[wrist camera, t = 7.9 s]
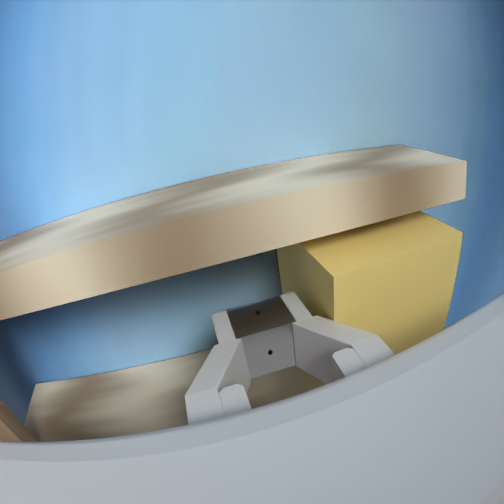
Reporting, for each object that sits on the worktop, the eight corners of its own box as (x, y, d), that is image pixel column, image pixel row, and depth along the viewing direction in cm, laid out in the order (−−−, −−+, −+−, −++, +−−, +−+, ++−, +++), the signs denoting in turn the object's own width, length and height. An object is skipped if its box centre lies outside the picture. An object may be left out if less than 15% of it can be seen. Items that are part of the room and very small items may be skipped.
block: (378, 192, 13) (463, 232, 8) (376, 287, 15) (439, 345, 11) (271, 216, 12) (333, 277, 8) (285, 318, 14) (332, 397, 10)
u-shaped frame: (399, 144, 12) (483, 166, 8) (393, 308, 16) (446, 360, 12) (-38, 257, 9) (-94, 316, 5) (49, 400, 13) (35, 471, 9)
